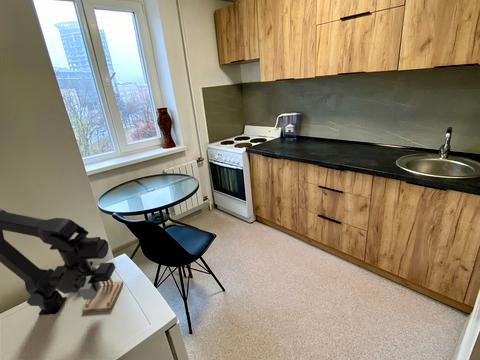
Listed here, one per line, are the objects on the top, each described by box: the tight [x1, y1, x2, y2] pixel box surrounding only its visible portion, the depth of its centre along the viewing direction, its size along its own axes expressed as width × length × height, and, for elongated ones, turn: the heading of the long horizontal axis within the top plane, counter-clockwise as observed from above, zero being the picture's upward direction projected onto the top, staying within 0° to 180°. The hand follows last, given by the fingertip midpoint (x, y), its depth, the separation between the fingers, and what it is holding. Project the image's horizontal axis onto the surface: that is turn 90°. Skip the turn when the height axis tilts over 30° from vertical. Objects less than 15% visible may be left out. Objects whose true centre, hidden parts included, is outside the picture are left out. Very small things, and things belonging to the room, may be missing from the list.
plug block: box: [78, 277, 101, 301], centre depth 85 cm, size 4×5×5 cm
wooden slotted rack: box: [81, 276, 124, 313], centre depth 91 cm, size 10×11×5 cm
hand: (91, 290), depth 85 cm, fingers closed on plug block, 3 cm apart
